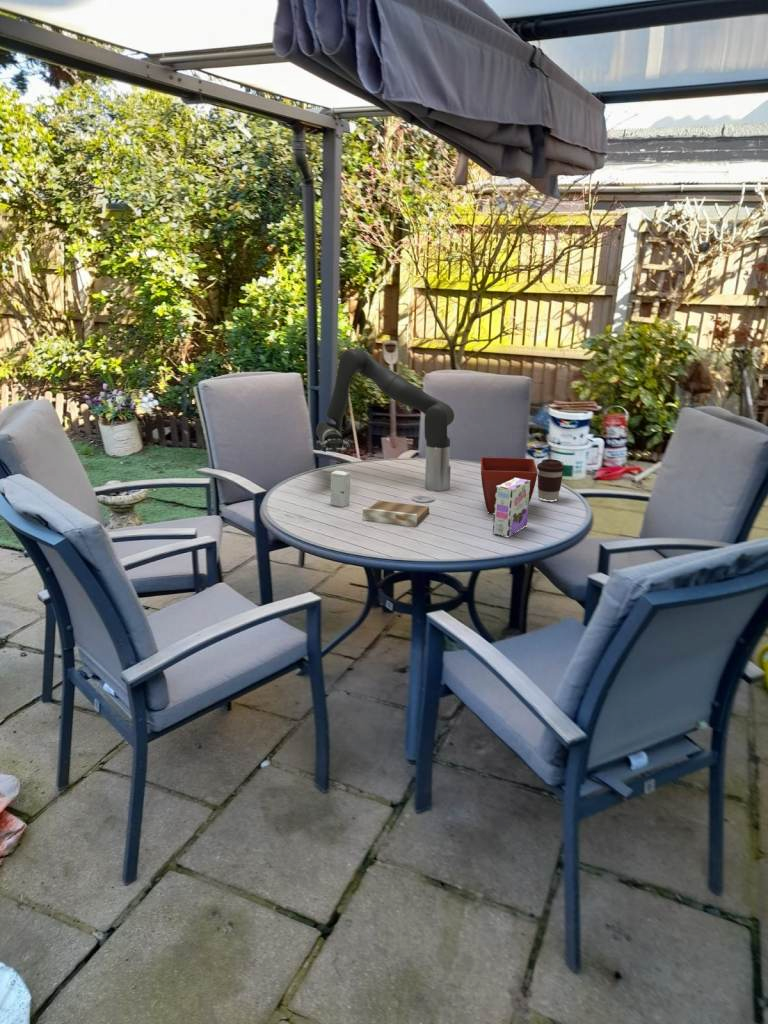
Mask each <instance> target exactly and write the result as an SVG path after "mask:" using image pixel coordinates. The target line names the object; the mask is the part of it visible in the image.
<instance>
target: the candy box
mask: <svg viewBox="0 0 768 1024" xmlns="http://www.w3.org/2000/svg"><path fill="white" fill-rule="evenodd" d="M529 492H530V480H525V479H520V478H514V479H512V480H510V481H507V482H505V483H503V484H500V485H498V486H496V494H495V508H494V514H493V523H492V525H493V526H492V535H495V534H498V535H497V536H499V535H503V536H510V535H512V534H514V533H515V532H517V531H518V530H520V529H521V528H523V527H524V526H526V525H527V526H528V517H529V504H530V503H529ZM517 533H518V532H517ZM514 535H515V534H514ZM512 536H513V535H512Z"/></svg>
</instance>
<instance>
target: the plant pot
mask: <svg viewBox="0 0 768 1024" xmlns="http://www.w3.org/2000/svg"><path fill="white" fill-rule="evenodd" d="M536 465H537V464H536V461H535V459H534V458H524V457H523V458H521V457H520V458H517V457H490V456H489V457H488V456H482V457H480V476H481V485H482V487H481V488H482V492H483V498H484V503H485V506H486V510H487V513H488V512H489V513H488V514H490V513H494V508H495V494H496V486H498V485H500V484H503V483H505V482H507V481H510V480H512V479H514V478H520V479H525V480H530V492H529V504H530V503H531V500H532V496H533V493H534V490H535V487H536V482H537V479H538V473H539V470H538V469H537V466H536Z"/></svg>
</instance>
